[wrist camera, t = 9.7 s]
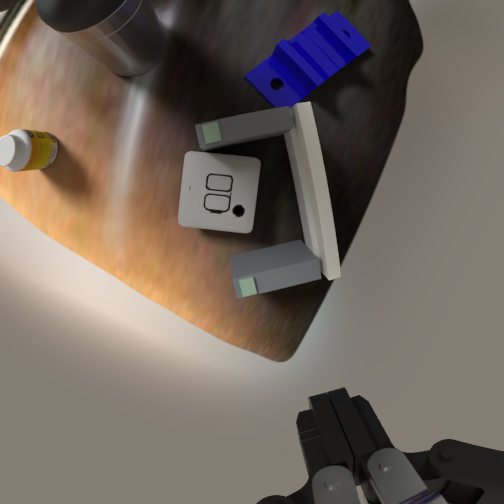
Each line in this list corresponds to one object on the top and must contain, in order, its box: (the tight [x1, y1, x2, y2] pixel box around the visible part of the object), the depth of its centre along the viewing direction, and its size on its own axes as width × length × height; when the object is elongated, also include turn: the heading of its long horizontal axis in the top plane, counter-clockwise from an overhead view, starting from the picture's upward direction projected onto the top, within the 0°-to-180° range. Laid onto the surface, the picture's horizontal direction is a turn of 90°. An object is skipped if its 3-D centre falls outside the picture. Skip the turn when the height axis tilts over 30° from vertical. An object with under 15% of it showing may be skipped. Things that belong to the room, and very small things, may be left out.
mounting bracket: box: [244, 11, 371, 109], centre depth 34 cm, size 18×7×6 cm, turn 133°
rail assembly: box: [195, 102, 341, 299], centre depth 36 cm, size 20×12×10 cm, turn 12°
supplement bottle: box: [0, 129, 58, 172], centre depth 31 cm, size 6×6×10 cm
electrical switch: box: [178, 151, 261, 233], centre depth 38 cm, size 9×5×9 cm
